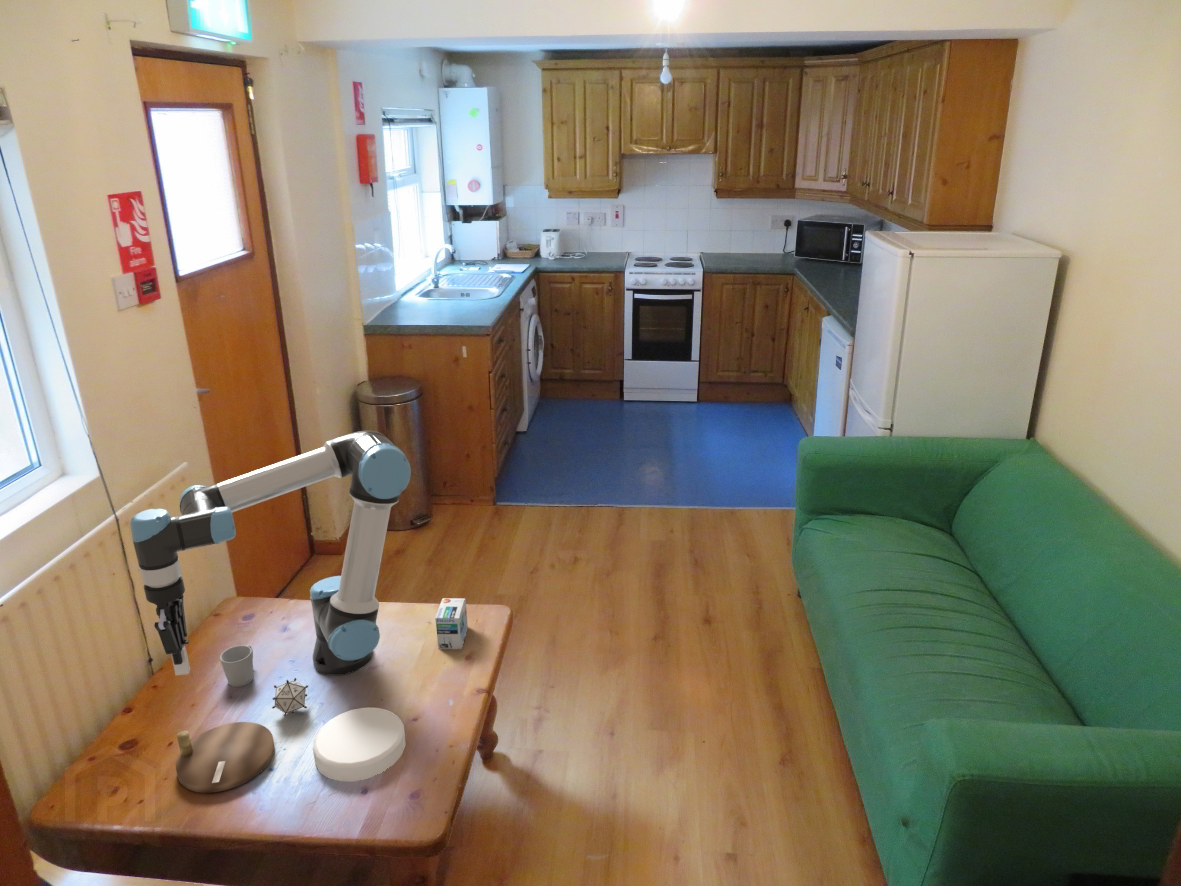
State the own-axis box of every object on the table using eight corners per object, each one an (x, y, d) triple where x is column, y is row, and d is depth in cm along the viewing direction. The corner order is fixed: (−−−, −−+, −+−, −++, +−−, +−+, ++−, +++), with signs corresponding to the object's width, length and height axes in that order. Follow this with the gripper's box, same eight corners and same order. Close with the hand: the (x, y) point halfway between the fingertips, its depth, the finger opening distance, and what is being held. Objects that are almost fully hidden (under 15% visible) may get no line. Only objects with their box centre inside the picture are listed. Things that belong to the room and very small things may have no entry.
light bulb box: (462, 653, 220) (459, 618, 216) (437, 653, 220) (434, 618, 216) (468, 630, 230) (466, 597, 226) (444, 630, 230) (442, 597, 226)
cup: (219, 690, 206) (213, 661, 203) (240, 666, 216) (235, 638, 213) (247, 692, 205) (241, 663, 202) (267, 668, 215) (262, 640, 212)
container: (310, 735, 190) (308, 719, 189) (397, 712, 198) (395, 696, 196) (320, 794, 173) (317, 776, 171) (414, 766, 180) (412, 749, 179)
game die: (319, 707, 199) (314, 672, 196) (297, 729, 192) (291, 693, 188) (289, 699, 202) (283, 665, 199) (265, 721, 195) (259, 686, 191)
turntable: (281, 723, 193) (277, 699, 190) (266, 784, 174) (261, 758, 172) (191, 735, 189) (185, 710, 187) (165, 799, 171) (159, 772, 169)
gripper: (153, 567, 180) (173, 657, 188) (133, 597, 168) (156, 693, 176) (189, 563, 181) (208, 654, 190) (172, 593, 169) (193, 688, 177)
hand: (183, 672), depth 183 cm, fingers closed
